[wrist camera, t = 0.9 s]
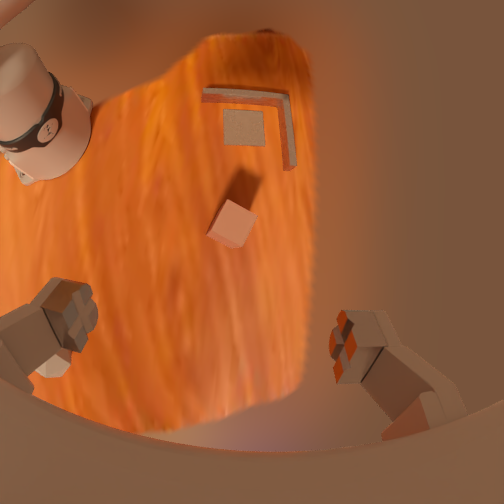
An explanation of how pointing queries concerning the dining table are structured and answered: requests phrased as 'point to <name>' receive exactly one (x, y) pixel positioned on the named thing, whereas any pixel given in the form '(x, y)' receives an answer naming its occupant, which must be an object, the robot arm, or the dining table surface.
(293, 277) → the dining table surface
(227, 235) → the block
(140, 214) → the dining table surface
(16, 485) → the robot arm
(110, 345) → the dining table surface
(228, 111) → the corner wall
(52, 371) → the grey faceted polyhedron
